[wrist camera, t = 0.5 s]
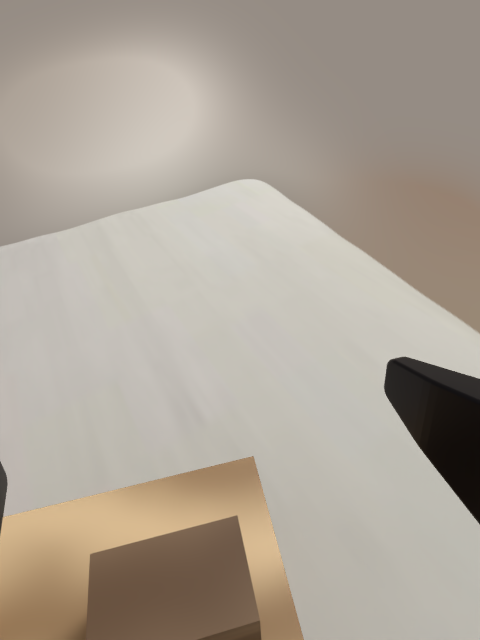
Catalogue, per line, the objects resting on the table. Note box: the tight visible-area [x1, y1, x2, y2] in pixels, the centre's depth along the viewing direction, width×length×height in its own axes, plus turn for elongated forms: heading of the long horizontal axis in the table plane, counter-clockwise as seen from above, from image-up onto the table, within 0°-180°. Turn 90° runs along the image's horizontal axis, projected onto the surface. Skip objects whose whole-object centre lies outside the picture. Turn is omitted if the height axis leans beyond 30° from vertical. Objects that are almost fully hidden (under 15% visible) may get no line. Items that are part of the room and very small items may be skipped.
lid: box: [0, 456, 304, 640], centre depth 13 cm, size 11×16×5 cm
